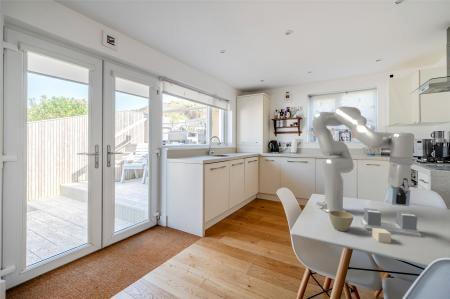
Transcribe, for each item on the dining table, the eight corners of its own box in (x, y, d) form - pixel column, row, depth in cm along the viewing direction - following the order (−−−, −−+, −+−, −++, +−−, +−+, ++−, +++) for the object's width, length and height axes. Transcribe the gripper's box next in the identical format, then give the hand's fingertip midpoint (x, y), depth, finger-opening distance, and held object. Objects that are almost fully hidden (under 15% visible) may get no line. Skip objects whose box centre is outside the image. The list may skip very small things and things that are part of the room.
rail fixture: (366, 230, 93) (366, 212, 93) (360, 222, 102) (361, 206, 101) (421, 237, 87) (421, 218, 86) (410, 228, 95) (410, 211, 95)
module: (391, 204, 88) (392, 188, 87) (387, 201, 92) (388, 186, 91) (409, 206, 85) (410, 190, 85) (404, 203, 90) (405, 187, 89)
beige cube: (378, 242, 83) (378, 232, 82) (372, 237, 87) (372, 228, 87) (390, 243, 82) (391, 233, 82) (384, 238, 86) (384, 228, 86)
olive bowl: (353, 235, 88) (353, 219, 88) (327, 230, 93) (327, 215, 93) (353, 227, 96) (353, 212, 96) (329, 223, 102) (329, 209, 101)
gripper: (383, 158, 97) (380, 196, 98) (398, 163, 81) (395, 207, 82) (402, 159, 94) (399, 197, 95) (422, 164, 78) (419, 209, 79)
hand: (398, 201), depth 89 cm, fingers closed on module, 4 cm apart
